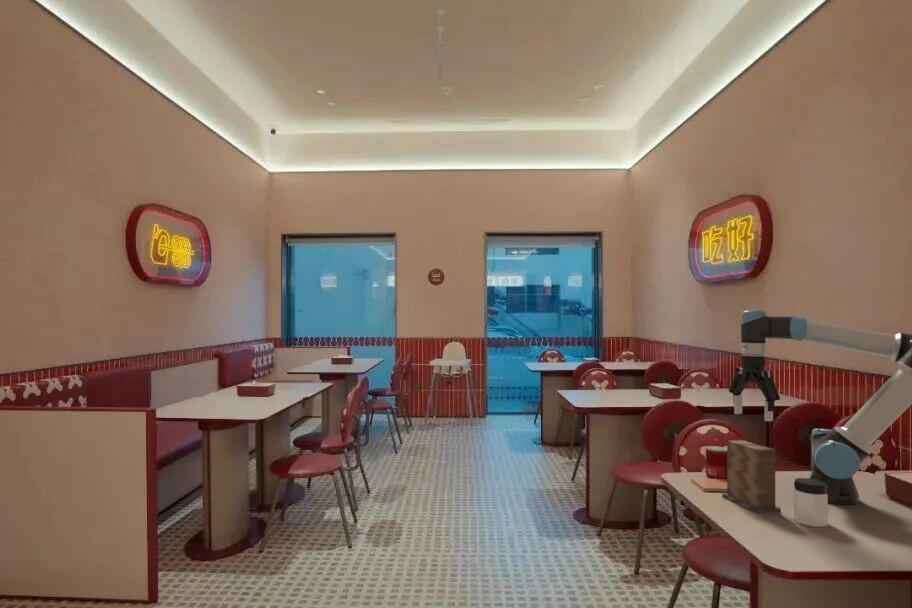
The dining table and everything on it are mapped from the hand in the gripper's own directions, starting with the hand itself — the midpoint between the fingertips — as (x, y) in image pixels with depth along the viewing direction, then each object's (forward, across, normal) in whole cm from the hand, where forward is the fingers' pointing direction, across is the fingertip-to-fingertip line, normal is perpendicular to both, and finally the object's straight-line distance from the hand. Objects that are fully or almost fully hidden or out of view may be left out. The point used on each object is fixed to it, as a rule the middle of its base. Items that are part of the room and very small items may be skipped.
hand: (753, 417), depth 191 cm
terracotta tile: (+27, -12, -6) cm, 30 cm away
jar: (+27, +25, -2) cm, 37 cm away
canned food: (+27, -22, +4) cm, 35 cm away
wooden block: (+27, +7, -8) cm, 29 cm away
